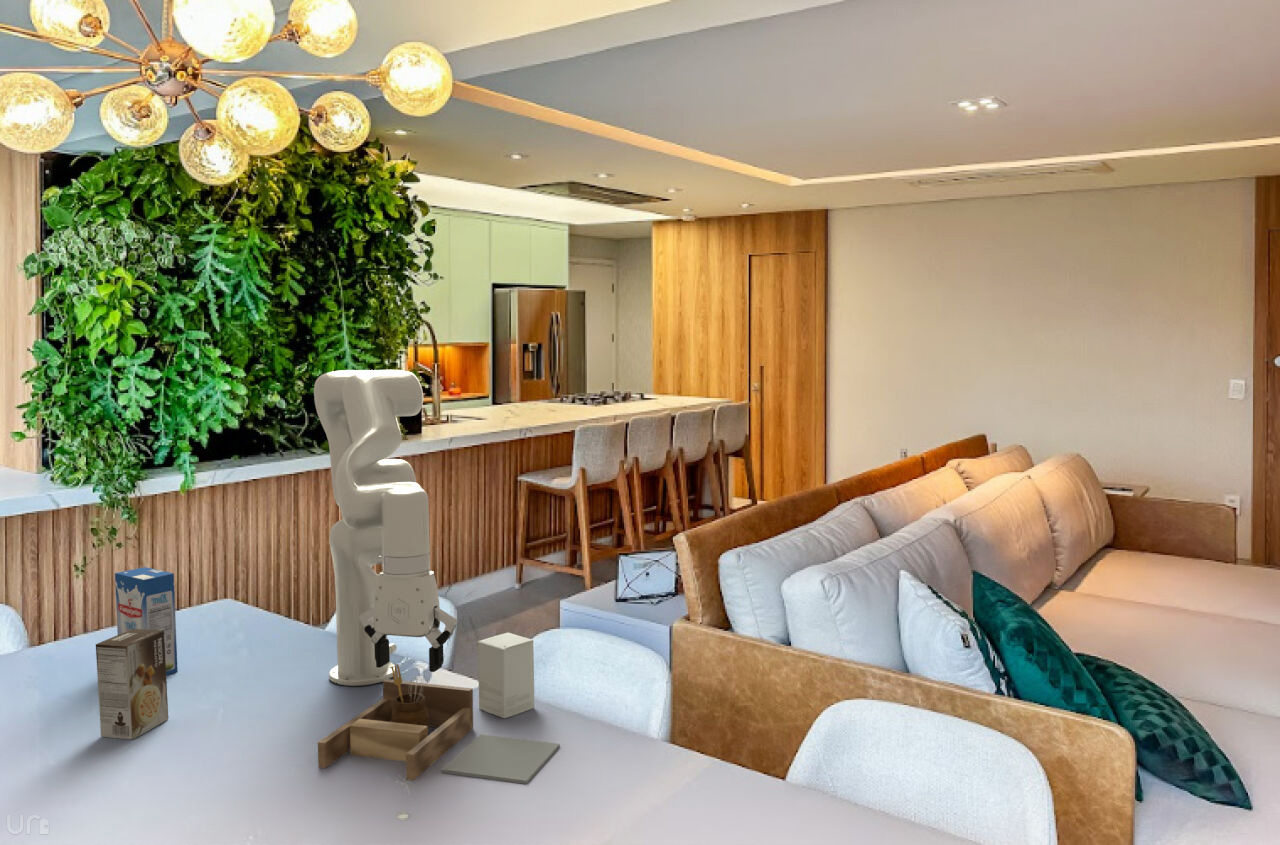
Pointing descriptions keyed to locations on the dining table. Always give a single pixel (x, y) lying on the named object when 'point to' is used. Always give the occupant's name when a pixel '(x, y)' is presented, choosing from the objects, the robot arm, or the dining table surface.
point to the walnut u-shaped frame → (444, 711)
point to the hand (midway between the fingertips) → (409, 667)
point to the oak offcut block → (385, 739)
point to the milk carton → (148, 606)
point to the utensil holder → (408, 704)
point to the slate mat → (501, 758)
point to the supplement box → (506, 674)
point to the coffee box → (132, 683)
